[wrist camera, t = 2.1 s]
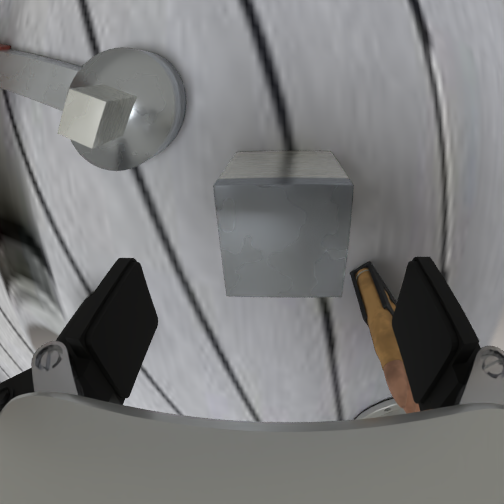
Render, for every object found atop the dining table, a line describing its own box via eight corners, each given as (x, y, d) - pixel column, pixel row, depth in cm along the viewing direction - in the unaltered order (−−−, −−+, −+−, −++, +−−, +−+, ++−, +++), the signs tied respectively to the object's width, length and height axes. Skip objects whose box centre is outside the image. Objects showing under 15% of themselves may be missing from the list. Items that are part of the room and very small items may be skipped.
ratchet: (206, 72, 16) (174, 67, 11) (160, 177, 20) (120, 212, 15) (-21, 20, 12) (-64, 25, 7) (-38, 91, 16) (-79, 105, 11)
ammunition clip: (349, 272, 23) (380, 408, 12) (369, 260, 22) (414, 393, 12) (399, 342, 26) (427, 451, 16) (415, 333, 26) (449, 441, 15)
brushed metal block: (330, 151, 18) (353, 185, 12) (326, 234, 21) (341, 296, 15) (236, 152, 19) (213, 185, 13) (242, 234, 22) (226, 296, 16)
